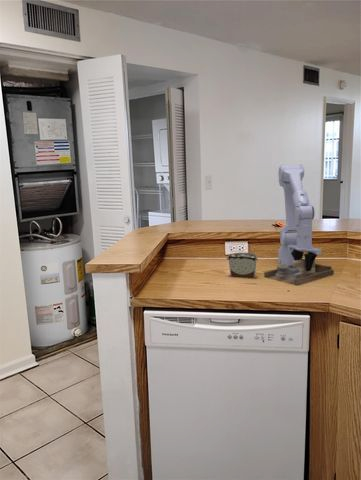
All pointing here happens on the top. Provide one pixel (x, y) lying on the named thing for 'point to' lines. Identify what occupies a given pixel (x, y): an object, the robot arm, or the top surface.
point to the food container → (242, 265)
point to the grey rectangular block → (303, 267)
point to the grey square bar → (288, 273)
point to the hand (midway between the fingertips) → (303, 269)
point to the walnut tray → (319, 273)
